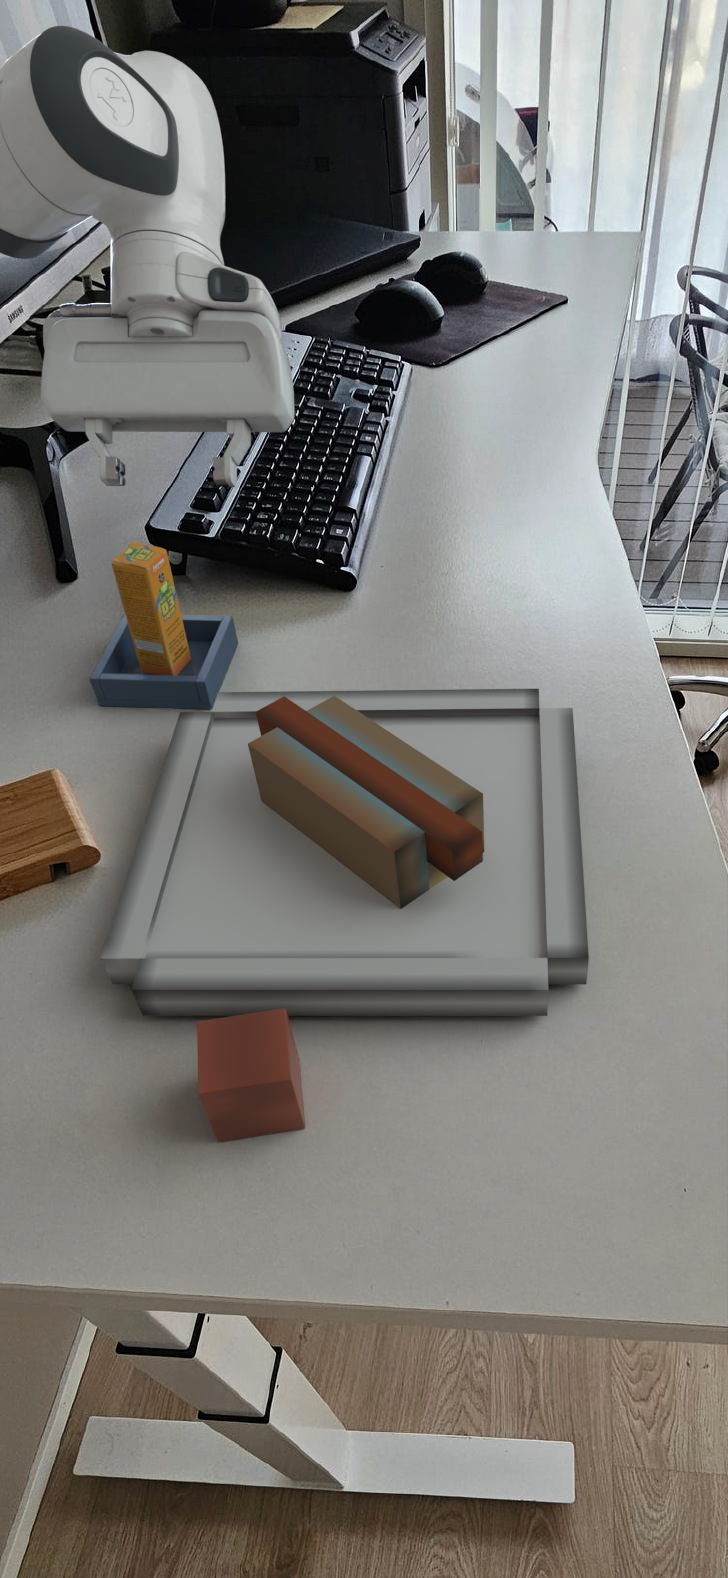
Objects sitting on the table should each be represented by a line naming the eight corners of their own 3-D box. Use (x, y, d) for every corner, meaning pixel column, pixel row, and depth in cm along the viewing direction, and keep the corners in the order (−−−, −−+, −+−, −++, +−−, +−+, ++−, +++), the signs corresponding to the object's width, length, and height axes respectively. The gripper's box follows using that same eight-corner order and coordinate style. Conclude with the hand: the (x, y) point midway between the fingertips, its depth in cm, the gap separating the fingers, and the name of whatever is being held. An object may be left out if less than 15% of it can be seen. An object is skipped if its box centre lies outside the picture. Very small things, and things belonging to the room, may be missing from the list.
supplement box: (177, 681, 86) (144, 567, 78) (141, 674, 87) (105, 560, 79) (196, 659, 88) (166, 545, 80) (160, 653, 89) (127, 539, 81)
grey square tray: (105, 1021, 65) (65, 941, 59) (195, 725, 83) (172, 642, 77) (587, 1022, 63) (595, 940, 58) (569, 721, 82) (574, 636, 76)
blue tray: (98, 705, 85) (88, 678, 83) (132, 640, 91) (123, 613, 89) (211, 709, 85) (204, 681, 83) (238, 642, 91) (232, 615, 88)
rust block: (218, 1142, 59) (197, 1094, 55) (216, 1072, 62) (196, 1021, 58) (305, 1128, 59) (291, 1079, 55) (299, 1059, 62) (285, 1007, 59)
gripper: (24, 281, 81) (27, 467, 83) (281, 279, 80) (279, 469, 81) (61, 324, 87) (63, 497, 89) (300, 324, 86) (298, 499, 87)
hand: (168, 484), depth 85 cm, fingers open, 8 cm apart
